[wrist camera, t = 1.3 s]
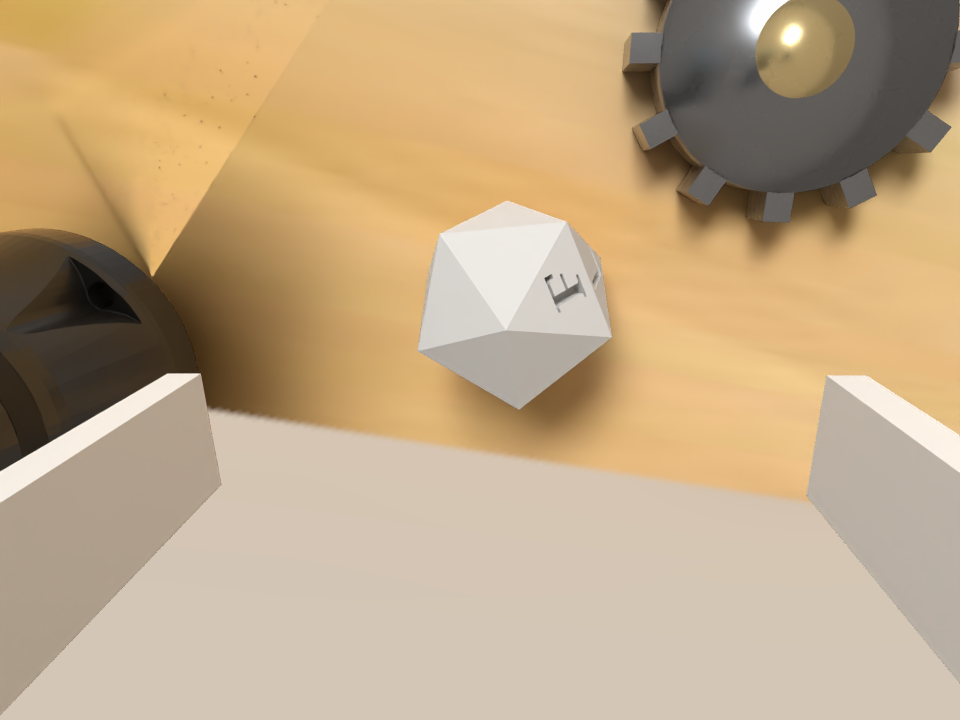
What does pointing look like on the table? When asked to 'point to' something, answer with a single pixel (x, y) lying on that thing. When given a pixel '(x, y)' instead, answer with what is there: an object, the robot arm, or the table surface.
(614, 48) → the table surface
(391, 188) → the table surface
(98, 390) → the robot arm
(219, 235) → the table surface
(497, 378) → the die
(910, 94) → the gear plate
